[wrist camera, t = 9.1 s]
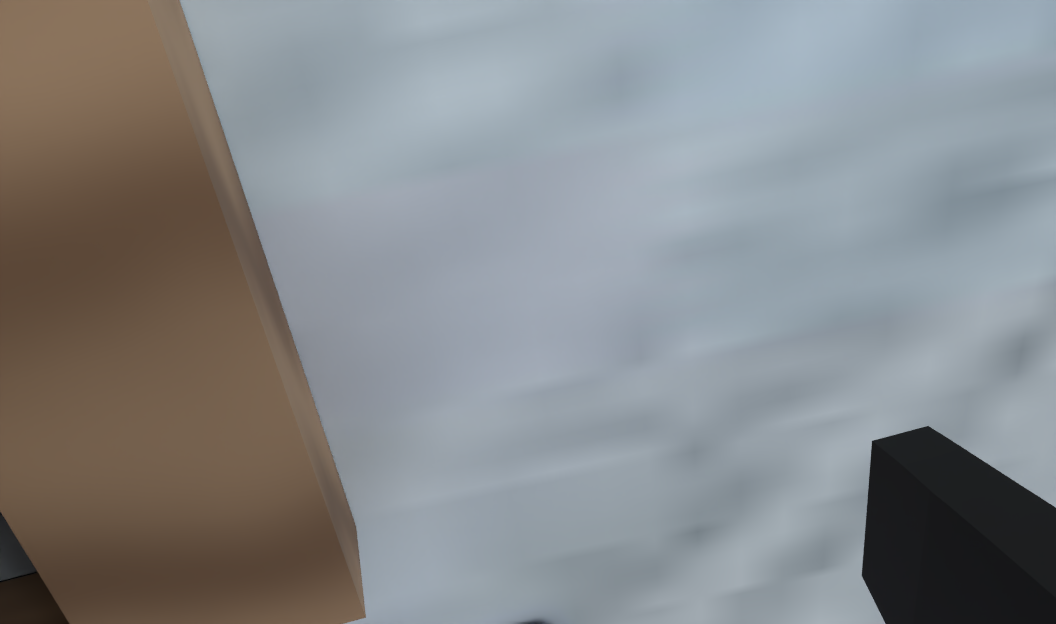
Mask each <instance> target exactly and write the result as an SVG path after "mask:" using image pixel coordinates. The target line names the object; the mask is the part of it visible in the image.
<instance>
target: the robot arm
mask: <svg viewBox="0 0 1056 624" xmlns="http://www.w3.org/2000/svg"><path fill="white" fill-rule="evenodd" d="M862 577H863V579H864V581H865V583H866V585H867V587H868V589H869V591H870V593H871V595H872V597H873V599H874V601H875V603H876V605H877V607H878V609H879V611H880V613H881V615H882V617H883V619H884V621H885V623H886V624H1056V508H1055V507H1054V506H1052V505H1051V504H1049V503H1048V502H1046V501H1044V500H1043V499H1041V498H1040V497H1038V496H1037V495H1035V494H1033V493H1032V492H1030V491H1029V490H1027V489H1026V488H1024V487H1022V486H1021V485H1019V484H1018V483H1016V482H1015V481H1013V480H1012V479H1010V478H1009V477H1007V476H1005V475H1004V474H1002V473H1001V472H999V471H998V470H996V469H995V468H993V467H991V466H990V465H988V464H987V463H985V462H984V461H982V460H981V459H979V458H978V457H976V456H974V455H973V454H971V453H970V452H968V451H967V450H965V449H964V448H962V447H961V446H959V445H957V444H956V443H954V442H953V441H951V440H950V439H948V438H946V437H945V436H943V435H942V434H940V433H938V432H937V431H935V430H934V429H932V428H930V427H929V426H927V427H923V428H919V429H915V430H912V431H908V432H904V433H900V434H897V435H893V436H889V437H885V438H881V439H878V440H874V441H872V450H871V463H870V477H869V490H868V503H867V516H866V529H865V542H864V555H863V568H862Z"/></svg>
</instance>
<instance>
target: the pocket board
mask: <svg viewBox="0 0 1056 624" xmlns="http://www.w3.org/2000/svg"><path fill="white" fill-rule="evenodd" d="M0 512H1V513H2V515H3V517H4V518H5V520H6V521H7V523H8V525H9V526H10V528H11V530H12V531H13V533H14V534H15V536H16V538H17V539H18V541H19V543H20V544H21V546H22V547H23V549H24V551H25V552H26V554H27V555H28V557H29V559H30V560H31V562H32V564H33V565H34V567H35V568H36V570H37V572H38V573H35V574H31V575H27V576H23V577H19V578H15V579H12V580H8V581H4V582H0V624H343V623H347V622H351V621H354V620H358V619H362V618H366V615H365V606H364V596H363V587H362V578H361V568H360V559H359V550H358V540H357V531H356V525H355V522H354V519H353V516H352V513H351V510H350V507H349V505H348V502H347V499H346V496H345V493H344V490H343V487H342V484H341V481H340V478H339V475H338V472H337V469H336V466H335V463H334V460H333V457H332V454H331V451H330V448H329V445H328V442H327V439H326V436H325V433H324V430H323V427H322V424H321V421H320V418H319V415H318V412H317V409H316V406H315V403H314V400H313V397H312V394H311V391H310V388H309V385H308V382H307V379H306V376H305V373H304V370H303V367H302V364H301V361H300V358H299V355H298V353H297V350H296V347H295V344H294V341H293V338H292V335H291V332H290V329H289V326H288V323H287V320H286V317H285V314H284V311H283V308H282V305H281V302H280V299H279V296H278V293H277V290H276V287H275V284H274V281H273V278H272V275H271V272H270V269H269V266H268V263H267V260H266V257H265V254H264V251H263V248H262V245H261V242H260V239H259V236H258V233H257V230H256V227H255V224H254V221H253V218H252V215H251V212H250V209H249V206H248V203H247V201H246V198H245V195H244V192H243V189H242V186H241V183H240V180H239V177H238V174H237V171H236V168H235V165H234V162H233V159H232V156H231V153H230V150H229V147H228V144H227V141H226V138H225V135H224V132H223V129H222V126H221V123H220V120H219V117H218V114H217V111H216V108H215V105H214V102H213V99H212V96H211V93H210V90H209V87H208V84H207V81H206V78H205V75H204V72H203V69H202V66H201V63H200V60H199V57H198V54H197V51H196V48H195V46H194V43H193V40H192V37H191V34H190V31H189V28H188V25H187V22H186V19H185V16H184V13H183V10H182V7H181V4H180V1H179V0H0Z"/></svg>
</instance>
